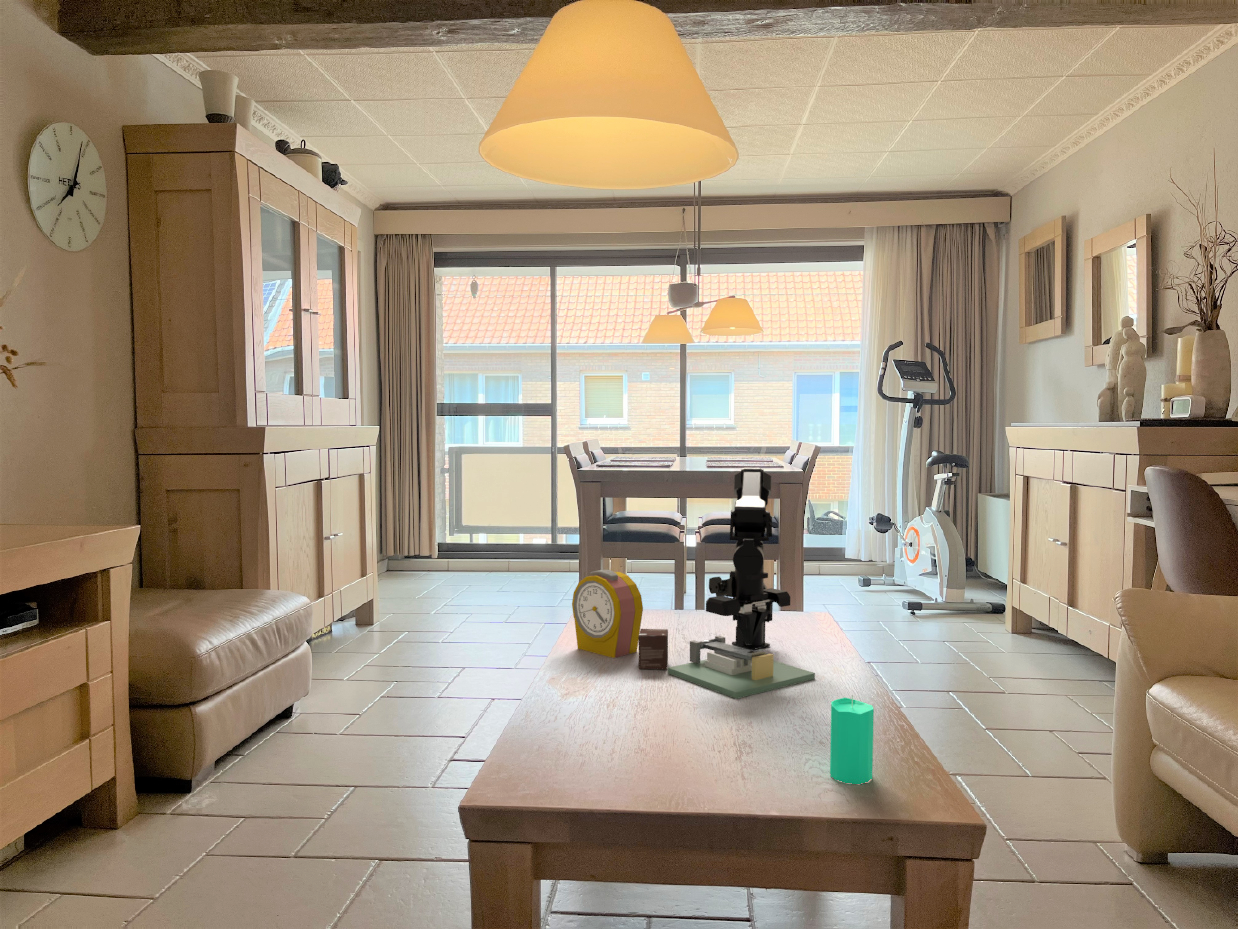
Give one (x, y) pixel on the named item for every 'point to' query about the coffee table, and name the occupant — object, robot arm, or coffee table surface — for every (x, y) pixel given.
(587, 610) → the alarm clock
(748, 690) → the board
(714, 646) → the grey hinged lever
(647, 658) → the box
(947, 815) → the coffee table surface
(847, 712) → the candle
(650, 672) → the coffee table surface
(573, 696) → the coffee table surface
